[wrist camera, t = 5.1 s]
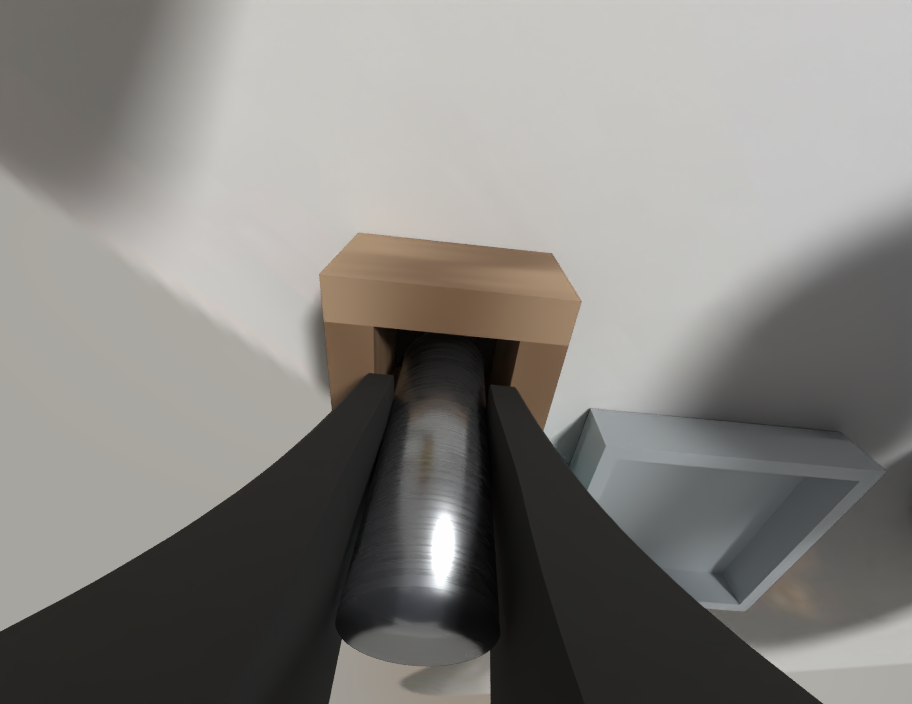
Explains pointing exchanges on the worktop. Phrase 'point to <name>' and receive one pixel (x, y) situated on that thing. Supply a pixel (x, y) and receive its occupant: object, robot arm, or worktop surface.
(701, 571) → the tray
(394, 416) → the cylinder
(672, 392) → the worktop surface
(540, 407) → the brown wooden square frame
